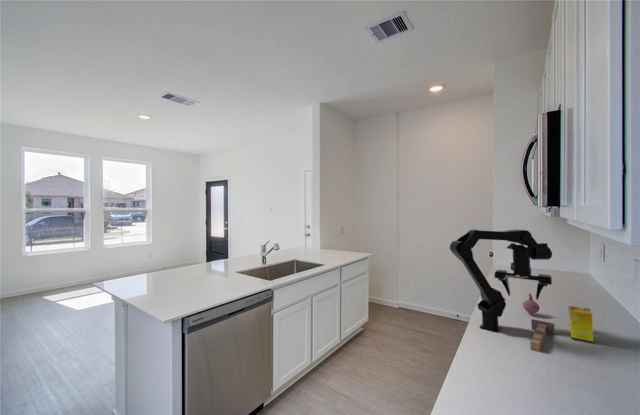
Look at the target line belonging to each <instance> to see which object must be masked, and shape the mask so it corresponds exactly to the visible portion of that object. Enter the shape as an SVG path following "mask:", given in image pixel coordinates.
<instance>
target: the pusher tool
mask: <svg viewBox="0 0 640 415" xmlns="http://www.w3.org/2000/svg"><path fill="white" fill-rule="evenodd" d="M530 323H531V330H532V331H534V333H533V335H532V337H531V338H530V339H531V340H530V342H529V343H530V350H531V351H535V352H537V353H541V350H542V348H543V347H542V346H543V344H544V342H545V339H546V335H547V334H548V335H549V334H551V335H556V333H555V323H553V322H547V321H544V320H543V321H542V320H539V319H533V318H531V320H530Z"/></svg>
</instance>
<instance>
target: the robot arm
mask: <svg viewBox="0 0 640 415" xmlns="http://www.w3.org/2000/svg"><path fill="white" fill-rule="evenodd" d="M479 240H487V241H488V240H490V241H491V240H492V241H507V242H511V243H510V244H509V245H507V246H506V249H509V250H512V262H510V270H511V271H512V272H513V273H511V272H508V270H504V269H496V270H495V272H494V279H498V281H500V282H501V283H502V285H503V287H504V288H505V290H506V293H507V295H508V296H510V297H511V290H510V288H511V287H510V284H509V283H510V281H509V278H510V279H511V278H512V279H520V280H529V281H537V287H536V294H535V299H536V301H538V300H539V297H540V295H541V292H542V290H543V289H544V287H548V286H549V285H550V286H551V285H552V284H553V279H552V278H553V277H552V275H550V274H543V273H538V275H534V274H533V275H532V267H531V260H532V261H533V260H535V261H537V260H538V261H540V260H543V261H544V260H546V261H547V260H550V259H551V258H552V256H553V251H552V250H551V249H550V247H549V246H548V243H546V242H539V243H538V242H537V241H536V240H535V239H534V237H533V235H532V233H531V232H530V231H529V230H526V229H508V230H505V231H504V230H502V231H501V230H500V231H498V230H482V229H481V230H480V229H479V230H478V229H470V230H469V231H467V232H466V233H465V234H463V235H462V236H460V237H458V238H457V239H456V240H454V241H452V242H451V243H450V245H449V250H450V252H451V253H452V254H453V255H454V256H455V257H456V258H457V259H459V261H460V262H461V263H462V264H463V266H464V267H465V270H467V272H468V274H469V275H470V276H471V277H470V278H472V280H473V281H474V283H475V285H476V286H477V288H478V289H479V292H480V297H481V300H480V301H479V302H478V304H477V308H478V310H479V311H481V317H482V318H481V322H482V323H481V325H479V329H483V330H485V331H486V330H487V331H490V332H494V333H495V332H496V333H499V331H500V330H501V328H502V326H501V325H499V317H503V313H504V310H505V309H506V306H507V303H506V300H507V299H506V298H505V297H504V296H503V294H502V292H501V291H500V290H499V289H498V290H497V289H496V288H494V287H492V286H491V285H490V283H489V281H488V280H487V278H486V277H485V274H483V272H482V271H481V269H480V267H479V266H478V264H477V262H476V261H475V259H474V255H473V253H474V252H473V250H472V249H473V248H474V247H475V246H476V245H477V243H478V242H479Z"/></svg>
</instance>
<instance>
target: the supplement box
mask: <svg viewBox="0 0 640 415" xmlns="http://www.w3.org/2000/svg"><path fill="white" fill-rule="evenodd" d="M568 315H569V316H568V317H569V319H568V320H569V334H570V336H571V337H570V339H571V340H573V341H578V342H582V343H589V344H594V343H595V342H594V328H593V313H592V312H591V309H590V308H588V307H587V308H586V307H581V306H572V305H568Z"/></svg>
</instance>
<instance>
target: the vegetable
mask: <svg viewBox="0 0 640 415" xmlns="http://www.w3.org/2000/svg"><path fill="white" fill-rule="evenodd" d="M528 298H529V299H526V300H524V301H523V303H522V307H523V309H524V311H525V312H527V313H528V314H529V315H533V314H536V313H539V311H540V305H539V304H538V303H537V302H536V301H535V300H534V299H533V296H532V294H531V293H530V292H528Z"/></svg>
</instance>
